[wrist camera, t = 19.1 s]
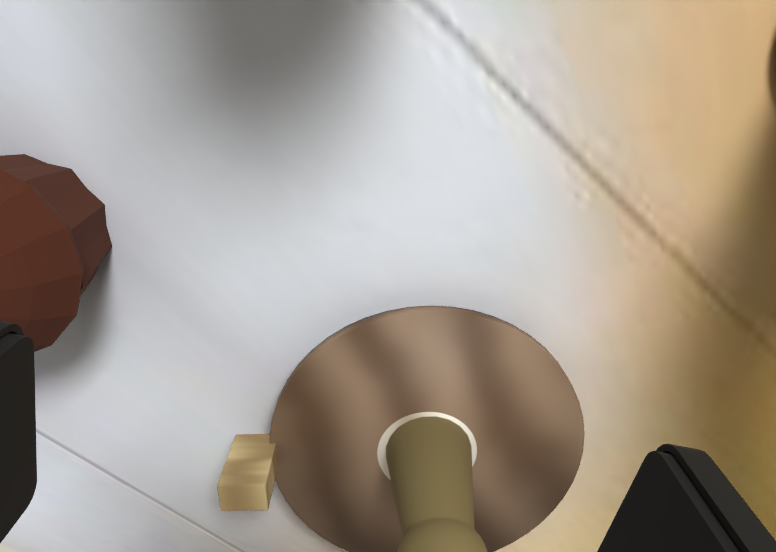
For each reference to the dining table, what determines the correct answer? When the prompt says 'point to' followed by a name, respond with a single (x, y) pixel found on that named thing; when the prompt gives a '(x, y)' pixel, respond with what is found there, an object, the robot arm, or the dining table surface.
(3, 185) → the muffin
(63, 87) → the dining table surface
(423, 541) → the cork
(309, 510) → the turntable
